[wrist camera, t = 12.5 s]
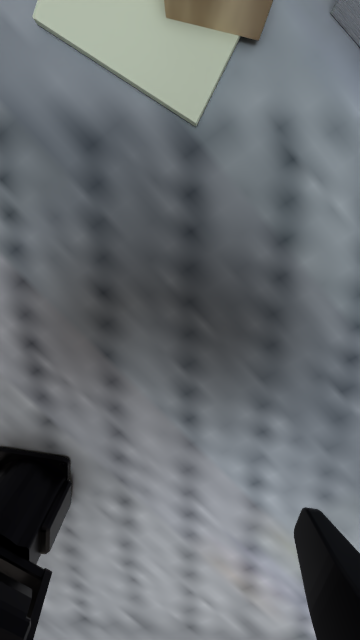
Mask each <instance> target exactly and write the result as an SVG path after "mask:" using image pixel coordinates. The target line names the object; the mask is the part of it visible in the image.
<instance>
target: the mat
mask: <svg viewBox="0 0 360 640" xmlns="http://www.w3.org/2000/svg"><path fill="white" fill-rule="evenodd" d="M33 19H34V20H35V22H36V23H37V24H38V25H39V26H41V27H42V28H44V29H45V30H47V31H48V32H50V33H52V34H53V35H55V36H56V37H58V38H59V39H61V40H62V41H64V42H65V43H67V44H69V45H70V46H72V47H73V48H75V49H76V50H78V51H79V52H81V53H82V54H84V55H86V56H87V57H89V58H90V59H92V60H93V61H95V62H96V63H98V64H99V65H101V66H103V67H104V68H106V69H107V70H109V71H110V72H112V73H113V74H115V75H116V76H118V77H120V78H121V79H123V80H124V81H126V82H127V83H129V84H130V85H132V86H134V87H135V88H137V89H138V90H140V91H141V92H143V93H144V94H146V95H147V96H149V97H151V98H152V99H154V100H155V101H157V102H158V103H160V104H161V105H163V106H164V107H166V108H168V109H169V110H171V111H172V112H174V113H175V114H177V115H178V116H180V117H181V118H183V119H185V120H186V121H188V122H189V123H191V124H192V125H194V126H195V127H196V126H197V124H198V122H199V120H200V118H201V116H202V114H203V112H204V110H205V108H206V106H207V104H208V102H209V100H210V98H211V96H212V94H213V92H214V90H215V88H216V86H217V84H218V82H219V80H220V78H221V76H222V74H223V71H224V69H225V67H226V65H227V63H228V61H229V59H230V57H231V55H232V53H233V51H234V49H235V47H236V45H237V43H238V41H239V39H240V37H241V36H238V35H234V34H230V33H226V32H222V31H218V30H214V29H209V28H205V27H201V26H197V25H193V24H189V23H185V22H181V21H177V20H173V19H169V18H166V14H165V5H164V0H37V4H36V7H35V10H34V14H33Z"/></svg>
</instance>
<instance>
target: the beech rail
mask: <svg viewBox="0 0 360 640" xmlns="http://www.w3.org/2000/svg"><path fill="white" fill-rule="evenodd" d="M272 2H273V0H164V5H165V14H166V18H169V19H173V20H177V21H181V22H185V23H189V24H193V25H197V26H201V27H205V28H209V29H214V30H218V31H222V32H226V33H230V34H234V35H238V36H242V37H246V38H250V39H255V40H259V39H260V36H261V33H262V30H263V27H264V25H265V22H266V19H267V16H268V13H269V11H270V8H271V5H272Z"/></svg>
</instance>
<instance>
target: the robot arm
mask: <svg viewBox="0 0 360 640" xmlns="http://www.w3.org/2000/svg"><path fill="white" fill-rule="evenodd" d="M69 474H70V461H69V459H68V458H66V457H60V456H54V455H47V454H41V453H34V452H28V451H21V450H15V449H8V448H2V447H0V640H33V638H34V634H35V631H36V627H37V624H38V620H39V617H40V613H41V610H42V606H43V603H44V599H45V595H46V592H47V588H48V585H49V581H50V578H51V574H52V571H50V570H48V569H47V568H45V569H43V568H41V567H39V566H38V565H36V563H37V561H38V559H39V557H40V555H41V554H47V553H48V552H49V551H50V550H51V547H52V545H53V543H54V541H55V538H56V536H57V534H58V531H59V529H60V527H61V525H62V522H63V520H64V518H65V516H66V513H67V511H68V509H69V507H70V504H71V490H72V483H71V481H69ZM294 539H295V544H296V549H297V554H298V559H299V564H300V569H301V574H302V579H303V584H304V589H305V594H306V599H307V603H308V608H309V612H310V616H311V620H312V624H313V627H314V631H315V634H316V638H317V640H360V553H359V552H358V551H357V550H356V549H355V548H354V547H353V546H352V544H351V543H350V542H349V541H348V540H347V539H346V538H345V537H344V536H343V535H342V534H341V533H340V531H339V530H338V529H337V528H336V527H335V526H334V525H333V524H332V523H331V522H330V521H329V520H328V518H327V517H326V516H325V515H324V514H323V513H322V512H321V511H319V510H318V509H313V508H303V509H302V510H301V513H300V515H299V518H298V520H297V523H296V525H295V528H294Z"/></svg>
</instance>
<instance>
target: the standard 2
mask: <svg viewBox="0 0 360 640" xmlns="http://www.w3.org/2000/svg"><path fill="white" fill-rule="evenodd" d="M331 14H332V15H333V16H334V18H335V19H336V20H337V21H338V22H339V23H340V25H341V26H342V27H343V28H344V29H345V30H346V32H347V33H348V34H349V35H350V36H351V37H352V39H353V40H354V41H355V42H356V43H357V44H358V46H359V47H360V0H339V1H338V2H337V4H336V5H335V7H334V9H333V10H332V12H331Z"/></svg>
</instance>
